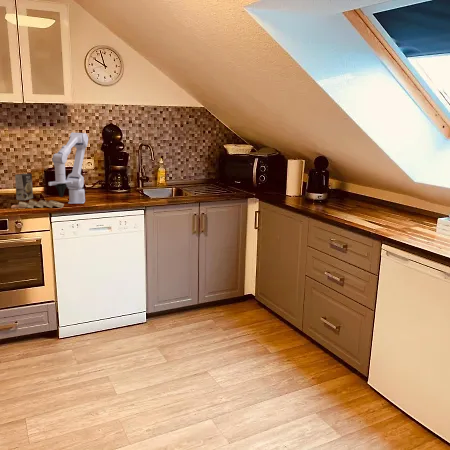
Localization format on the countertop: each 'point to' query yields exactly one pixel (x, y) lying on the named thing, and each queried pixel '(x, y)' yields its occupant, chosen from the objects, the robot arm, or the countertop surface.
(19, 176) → the coffee box
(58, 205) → the domino
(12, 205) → the end domino
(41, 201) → the domino
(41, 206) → the domino
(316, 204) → the countertop surface
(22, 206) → the domino
